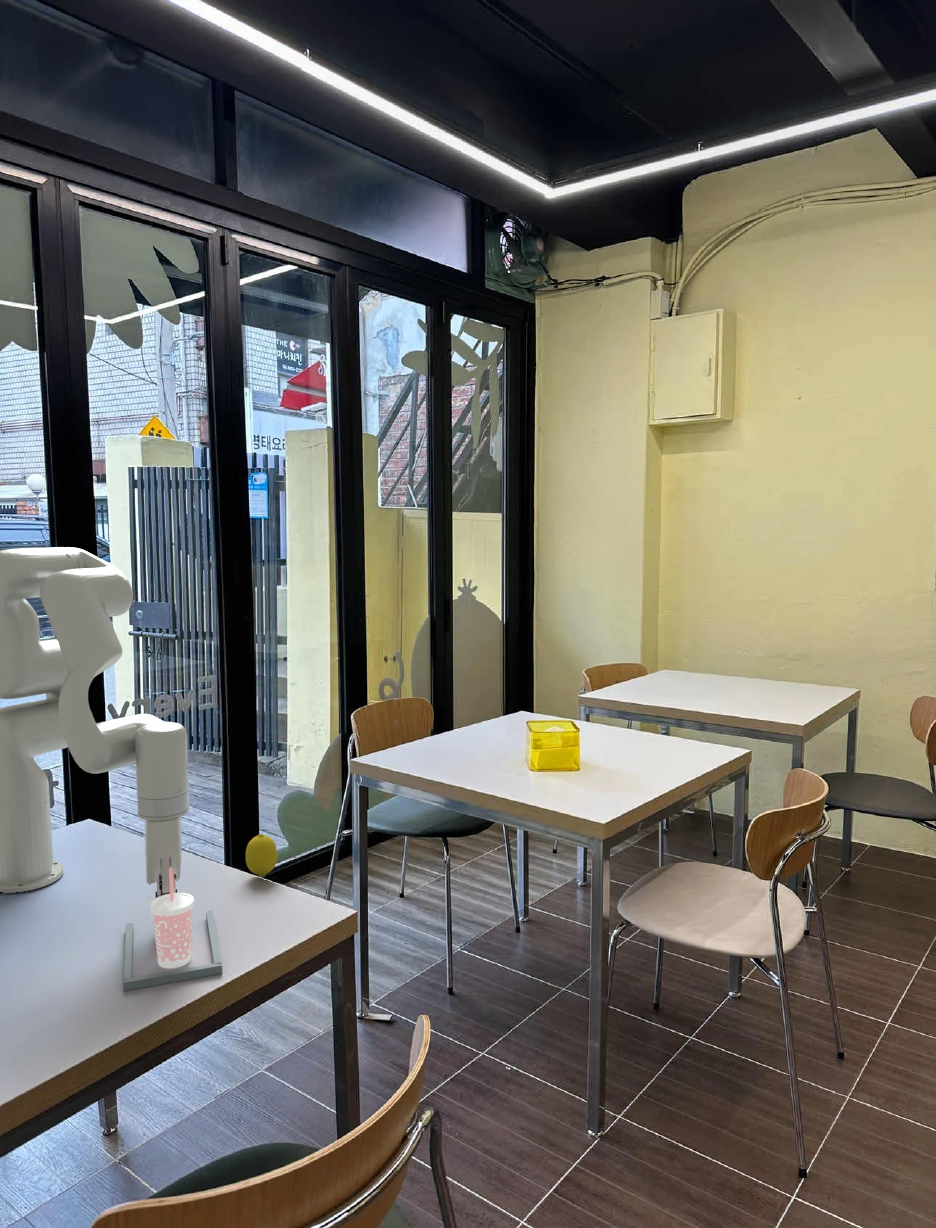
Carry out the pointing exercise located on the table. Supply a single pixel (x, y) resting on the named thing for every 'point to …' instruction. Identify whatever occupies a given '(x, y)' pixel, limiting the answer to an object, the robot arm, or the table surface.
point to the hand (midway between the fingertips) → (167, 916)
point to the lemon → (261, 855)
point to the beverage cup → (173, 927)
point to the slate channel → (173, 975)
